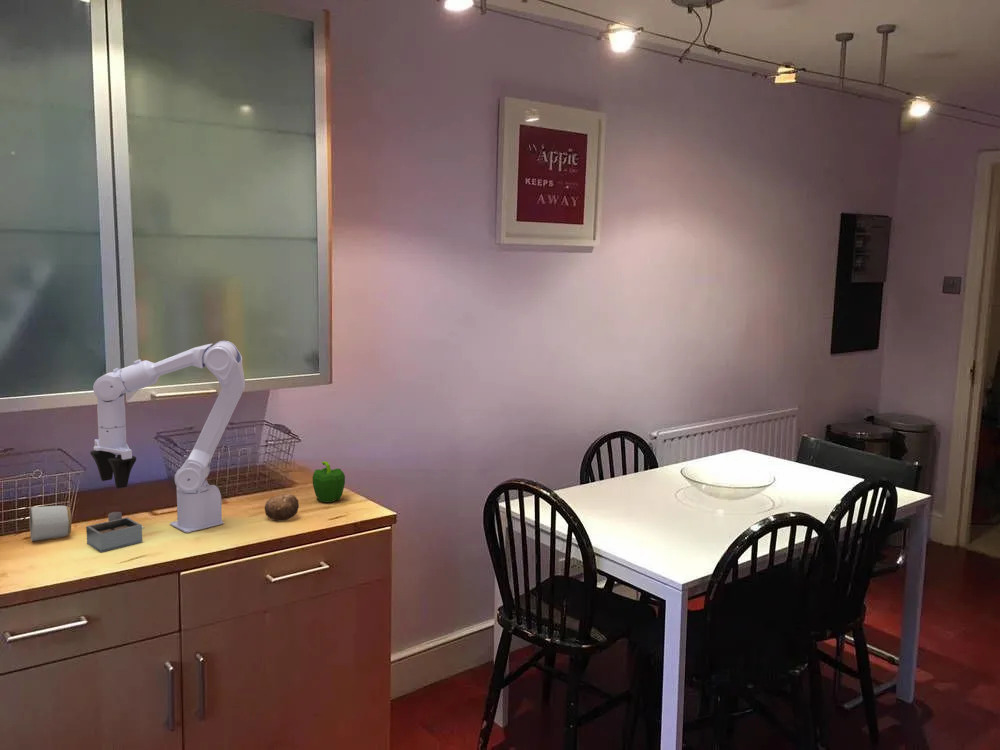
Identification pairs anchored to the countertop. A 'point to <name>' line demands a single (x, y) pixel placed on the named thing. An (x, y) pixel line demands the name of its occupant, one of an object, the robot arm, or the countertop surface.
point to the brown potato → (282, 507)
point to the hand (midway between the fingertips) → (114, 483)
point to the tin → (114, 534)
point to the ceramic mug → (49, 522)
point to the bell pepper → (328, 483)
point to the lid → (116, 516)
